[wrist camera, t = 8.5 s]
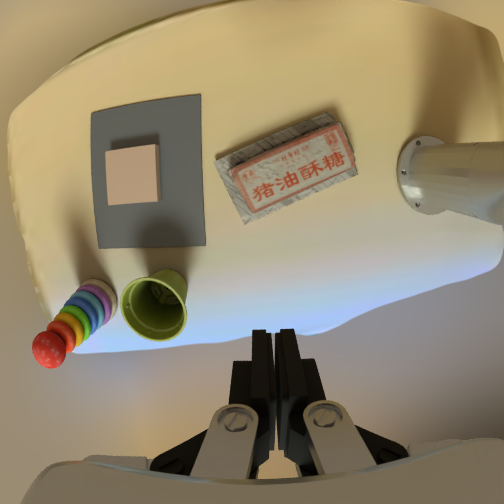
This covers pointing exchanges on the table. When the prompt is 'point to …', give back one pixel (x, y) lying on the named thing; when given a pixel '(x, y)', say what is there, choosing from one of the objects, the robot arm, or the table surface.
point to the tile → (133, 175)
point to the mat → (171, 167)
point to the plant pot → (156, 305)
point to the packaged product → (287, 166)
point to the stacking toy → (75, 322)
